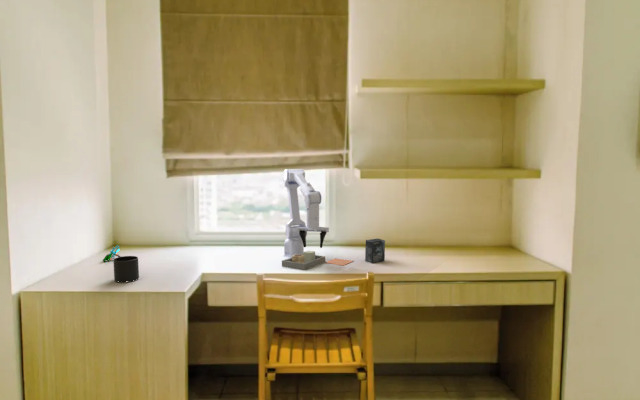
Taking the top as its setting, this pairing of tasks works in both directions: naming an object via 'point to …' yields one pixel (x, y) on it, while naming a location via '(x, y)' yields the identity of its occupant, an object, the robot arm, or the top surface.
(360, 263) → the top surface
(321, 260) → the tray
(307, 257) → the plain block
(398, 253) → the top surface
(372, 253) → the box
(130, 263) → the mug
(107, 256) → the stick construction toy
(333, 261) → the mat
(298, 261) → the label block
